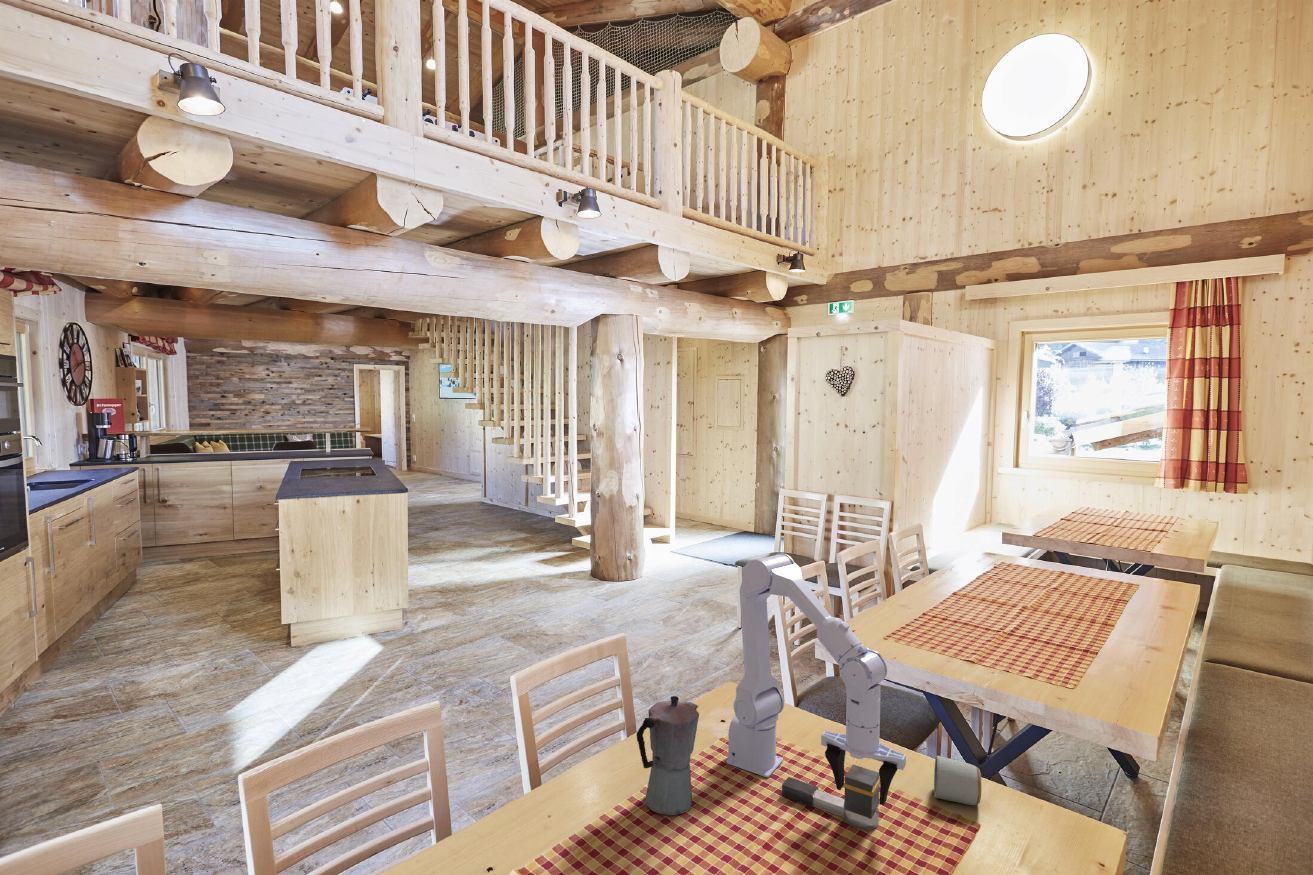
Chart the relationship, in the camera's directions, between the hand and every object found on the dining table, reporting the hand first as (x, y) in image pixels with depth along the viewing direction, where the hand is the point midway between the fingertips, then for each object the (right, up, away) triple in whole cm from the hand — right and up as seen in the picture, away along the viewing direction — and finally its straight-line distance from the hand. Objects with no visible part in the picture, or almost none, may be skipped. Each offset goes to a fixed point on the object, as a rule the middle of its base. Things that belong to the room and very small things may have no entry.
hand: (861, 794), depth 115 cm
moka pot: (-35, -4, +4) cm, 35 cm away
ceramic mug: (+20, -5, +8) cm, 22 cm away
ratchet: (-5, -4, +3) cm, 7 cm away
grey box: (0, -2, 0) cm, 2 cm away
